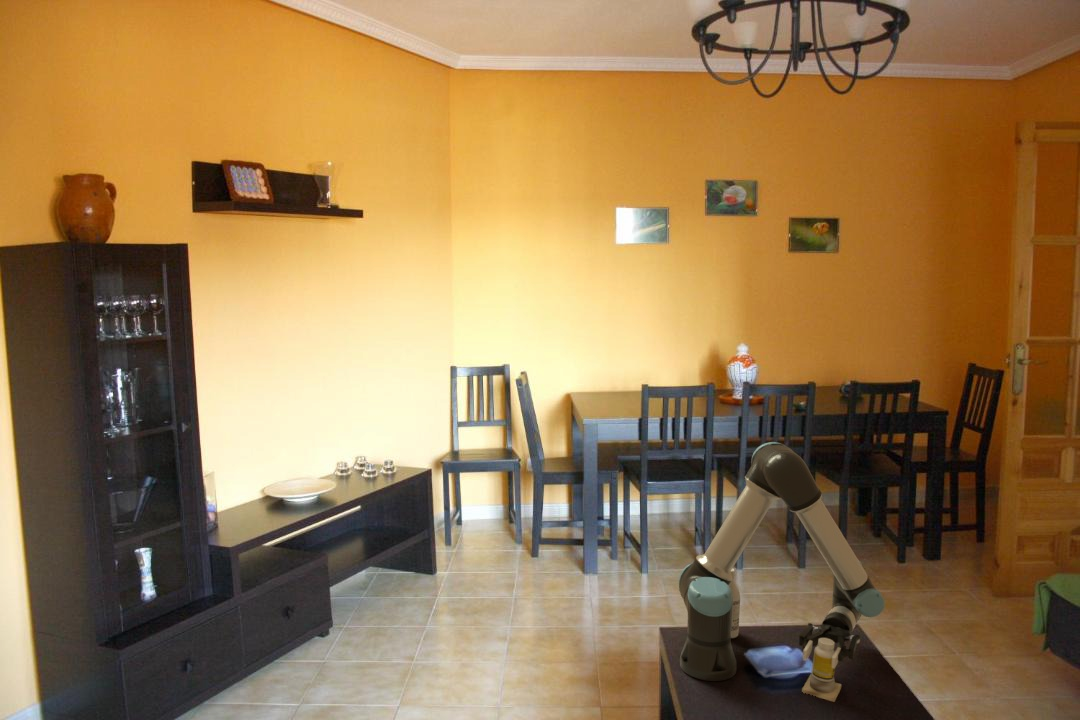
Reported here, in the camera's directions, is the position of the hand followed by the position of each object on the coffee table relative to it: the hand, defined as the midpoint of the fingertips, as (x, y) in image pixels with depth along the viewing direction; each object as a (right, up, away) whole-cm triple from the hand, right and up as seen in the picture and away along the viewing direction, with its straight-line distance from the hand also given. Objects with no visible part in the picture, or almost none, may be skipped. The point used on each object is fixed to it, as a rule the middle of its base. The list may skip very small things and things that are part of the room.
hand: (818, 659), depth 194 cm
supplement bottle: (+3, -7, +5) cm, 9 cm away
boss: (+3, -10, +5) cm, 12 cm away
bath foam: (-14, -7, +37) cm, 40 cm away
